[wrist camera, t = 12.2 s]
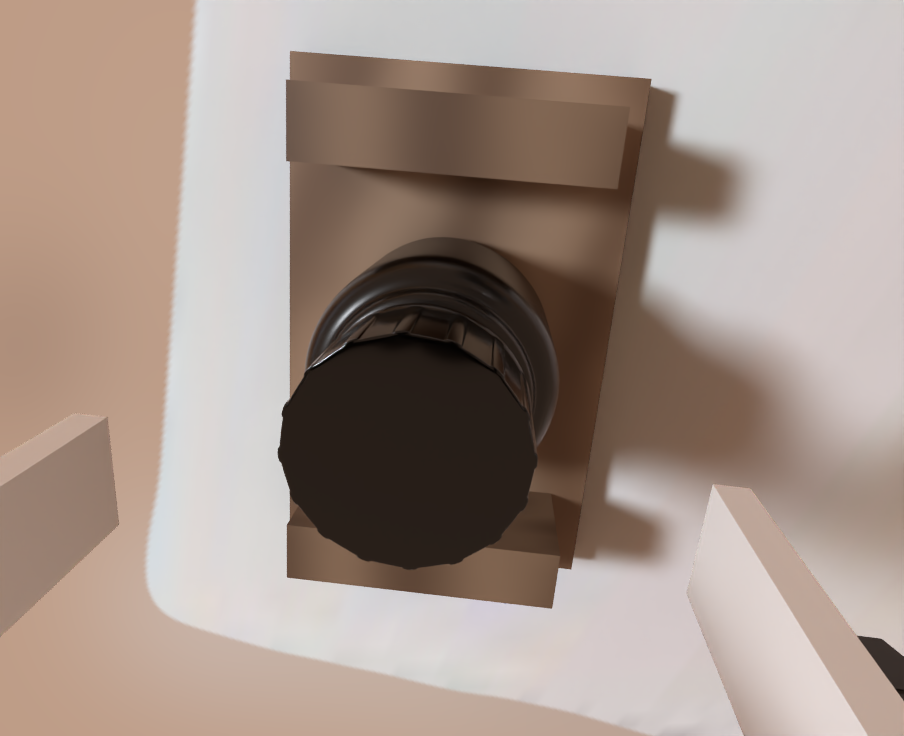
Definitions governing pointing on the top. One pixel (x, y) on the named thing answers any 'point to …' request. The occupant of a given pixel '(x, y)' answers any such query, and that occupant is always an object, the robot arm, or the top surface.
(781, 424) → the top surface
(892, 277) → the top surface
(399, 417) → the ink bottle
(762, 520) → the robot arm
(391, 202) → the cradle
